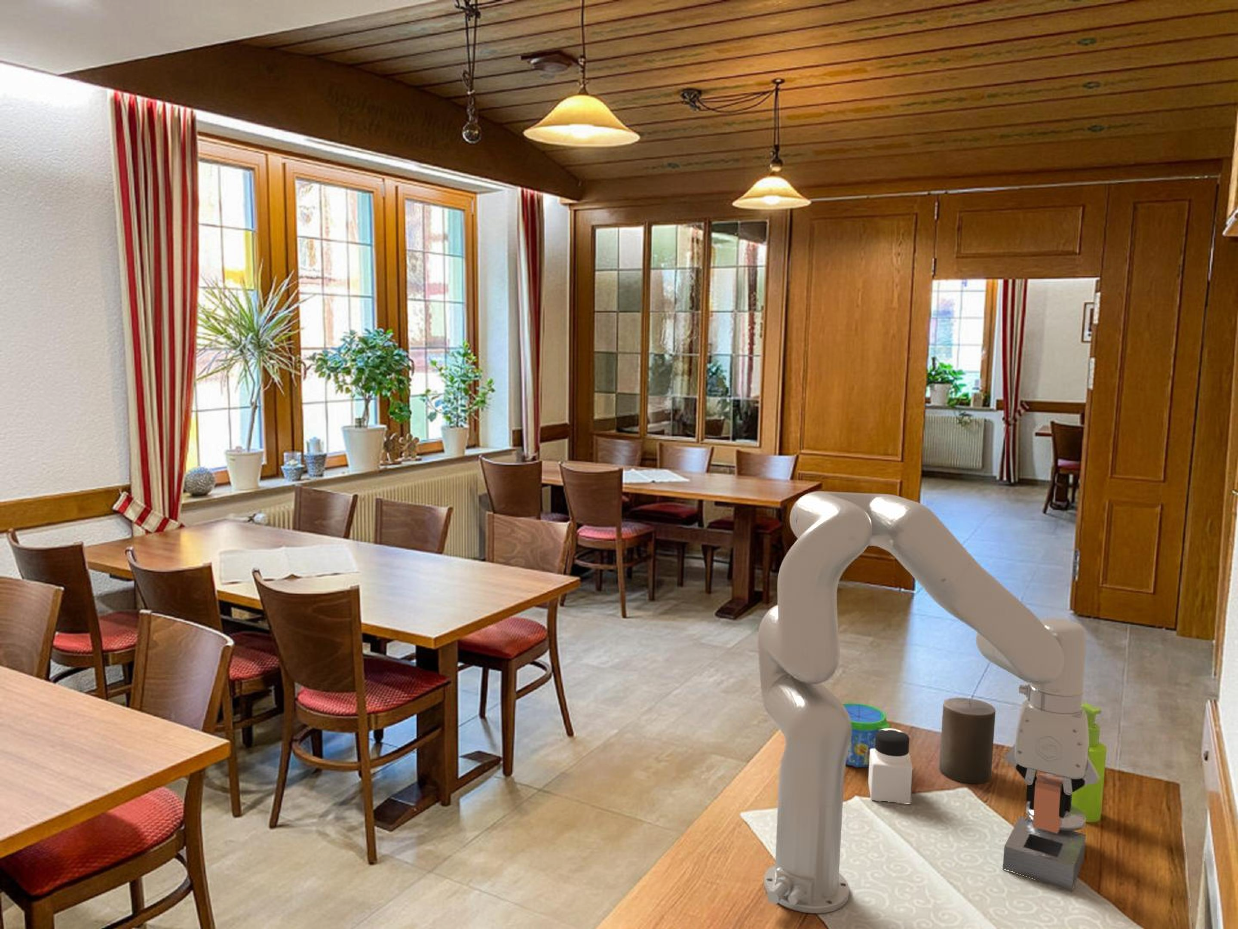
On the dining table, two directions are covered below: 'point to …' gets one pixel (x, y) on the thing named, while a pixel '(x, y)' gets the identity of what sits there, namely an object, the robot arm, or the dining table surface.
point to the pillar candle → (967, 740)
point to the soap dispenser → (1091, 794)
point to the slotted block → (1047, 849)
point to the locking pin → (1047, 803)
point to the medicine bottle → (890, 767)
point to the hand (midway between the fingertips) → (1048, 809)
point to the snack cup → (863, 732)
